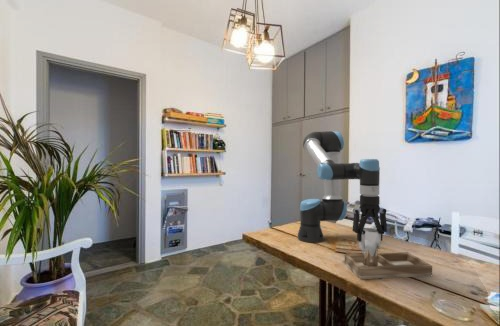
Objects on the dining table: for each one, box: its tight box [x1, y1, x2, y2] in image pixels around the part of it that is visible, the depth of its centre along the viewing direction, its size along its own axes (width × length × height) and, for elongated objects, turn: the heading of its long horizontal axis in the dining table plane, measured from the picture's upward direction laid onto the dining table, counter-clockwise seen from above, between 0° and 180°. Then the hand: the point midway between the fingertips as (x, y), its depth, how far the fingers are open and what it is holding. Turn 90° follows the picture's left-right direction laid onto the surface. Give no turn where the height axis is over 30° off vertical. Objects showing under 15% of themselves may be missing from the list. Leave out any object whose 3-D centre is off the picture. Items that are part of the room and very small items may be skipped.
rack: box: [344, 251, 433, 280], centre depth 103 cm, size 14×30×4 cm, turn 93°
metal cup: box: [362, 227, 379, 267], centre depth 103 cm, size 7×7×15 cm
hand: (369, 248), depth 103 cm, fingers closed on metal cup, 7 cm apart
